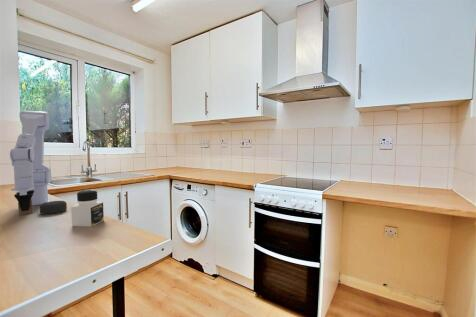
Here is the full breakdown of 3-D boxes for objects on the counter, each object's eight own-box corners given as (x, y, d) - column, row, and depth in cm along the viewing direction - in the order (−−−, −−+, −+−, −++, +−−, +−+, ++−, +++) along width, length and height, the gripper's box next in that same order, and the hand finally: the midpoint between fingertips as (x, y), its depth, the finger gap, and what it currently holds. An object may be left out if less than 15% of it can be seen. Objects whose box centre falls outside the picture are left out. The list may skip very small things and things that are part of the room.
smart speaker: (68, 212, 98) (67, 203, 97) (40, 216, 92) (40, 206, 91) (65, 208, 104) (64, 199, 104) (39, 212, 98) (38, 202, 98)
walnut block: (19, 212, 96) (19, 200, 96) (32, 211, 99) (31, 199, 98) (18, 215, 93) (18, 202, 93) (32, 213, 96) (31, 201, 95)
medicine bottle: (91, 227, 80) (90, 192, 79) (71, 226, 80) (70, 192, 79) (104, 220, 87) (103, 188, 86) (85, 220, 87) (84, 188, 86)
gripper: (12, 175, 98) (14, 207, 99) (7, 180, 87) (9, 215, 88) (34, 174, 103) (36, 204, 103) (32, 178, 91) (34, 212, 92)
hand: (25, 209), depth 96 cm, fingers closed on walnut block, 4 cm apart
